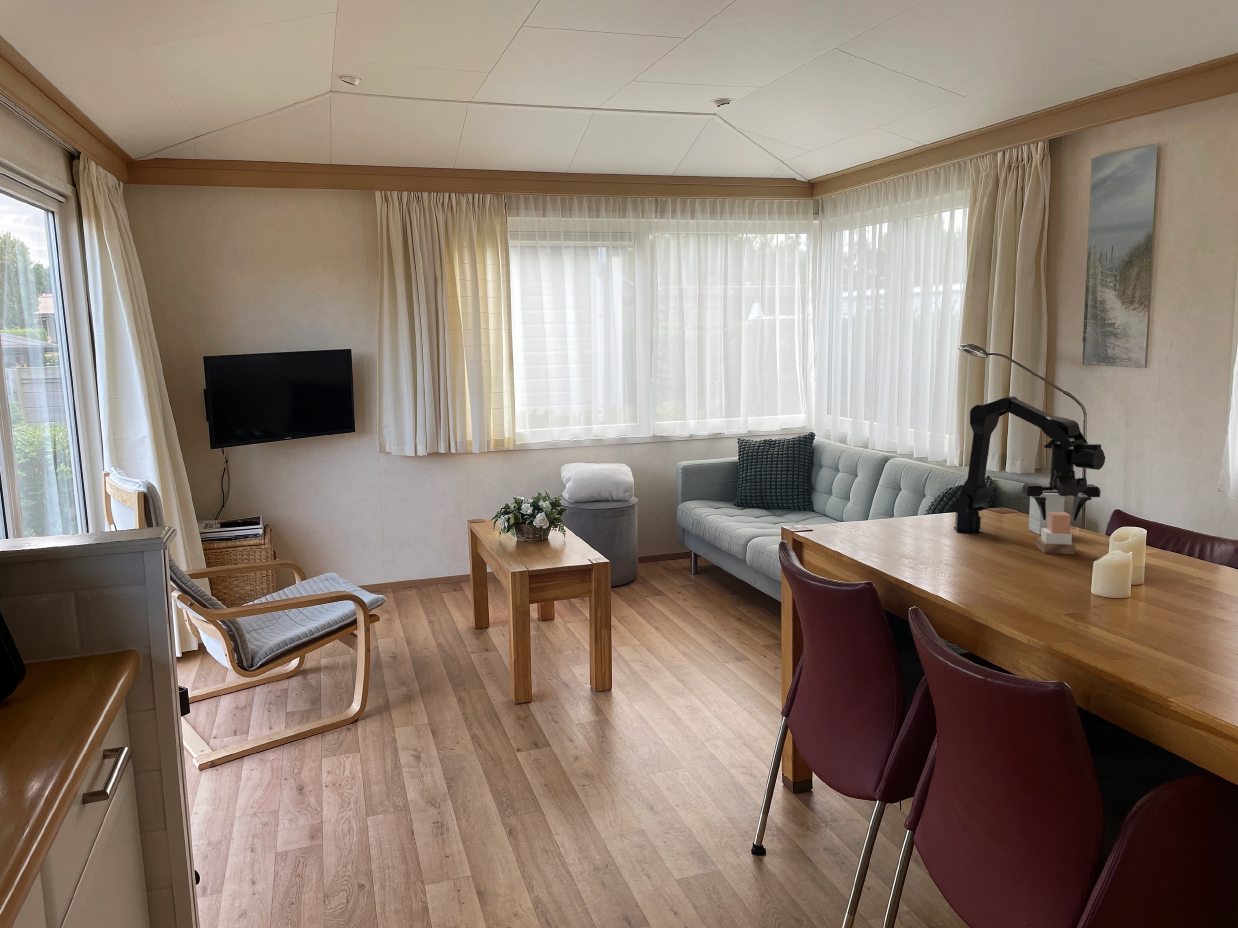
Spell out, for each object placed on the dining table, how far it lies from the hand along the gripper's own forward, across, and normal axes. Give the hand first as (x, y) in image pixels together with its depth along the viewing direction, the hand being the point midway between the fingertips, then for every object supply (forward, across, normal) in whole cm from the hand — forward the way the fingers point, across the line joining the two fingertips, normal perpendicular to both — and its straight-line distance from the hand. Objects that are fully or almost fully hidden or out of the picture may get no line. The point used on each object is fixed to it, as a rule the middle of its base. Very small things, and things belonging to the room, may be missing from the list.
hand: (1059, 520), depth 240 cm
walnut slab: (+9, 0, 0) cm, 9 cm away
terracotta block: (+3, 0, 0) cm, 3 cm away
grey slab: (+6, 0, 0) cm, 6 cm away
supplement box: (+9, +3, +23) cm, 25 cm away
